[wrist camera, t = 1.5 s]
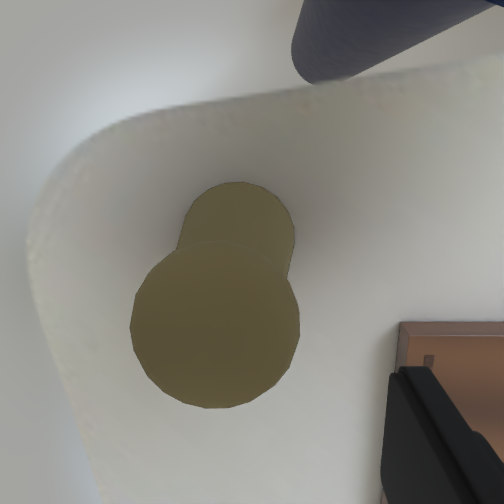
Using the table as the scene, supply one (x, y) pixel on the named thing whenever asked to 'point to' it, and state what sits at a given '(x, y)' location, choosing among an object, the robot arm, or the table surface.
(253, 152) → the table surface
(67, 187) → the table surface
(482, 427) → the cutting board
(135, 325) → the olive tapered rounded piece
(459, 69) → the table surface
